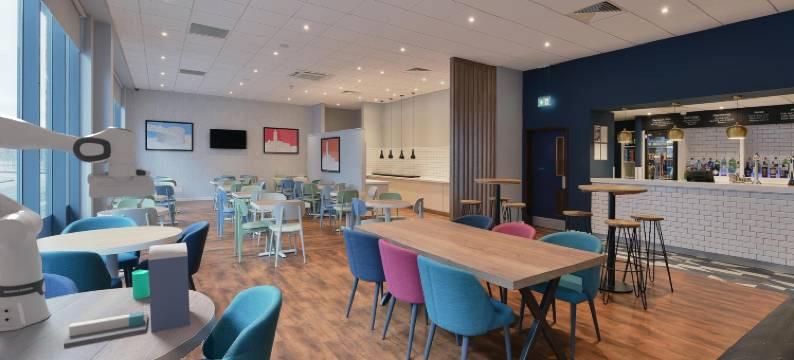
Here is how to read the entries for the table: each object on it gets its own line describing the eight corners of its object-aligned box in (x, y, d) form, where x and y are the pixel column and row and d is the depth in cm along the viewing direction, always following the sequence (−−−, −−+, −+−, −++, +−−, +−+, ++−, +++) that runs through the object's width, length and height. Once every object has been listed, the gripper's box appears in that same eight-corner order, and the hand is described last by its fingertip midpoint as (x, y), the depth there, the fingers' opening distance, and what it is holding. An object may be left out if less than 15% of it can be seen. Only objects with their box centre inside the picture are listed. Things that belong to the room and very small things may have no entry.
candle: (131, 296, 168) (129, 268, 167) (147, 292, 172) (146, 265, 172) (135, 300, 164) (133, 271, 163) (151, 296, 168) (150, 268, 167)
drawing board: (63, 347, 124) (63, 343, 124) (73, 330, 136) (73, 326, 136) (146, 332, 134) (145, 328, 134) (148, 317, 146) (147, 314, 146)
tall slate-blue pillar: (151, 332, 134) (148, 255, 132) (153, 315, 148) (150, 246, 146) (189, 325, 140) (187, 251, 138) (188, 309, 154) (185, 242, 152)
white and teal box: (69, 336, 128) (68, 327, 128) (71, 332, 132) (71, 323, 131) (143, 323, 138) (142, 315, 138) (143, 319, 141) (143, 311, 141)
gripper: (85, 172, 140) (87, 212, 141) (154, 171, 150) (155, 208, 151) (88, 172, 145) (90, 210, 146) (154, 170, 155) (156, 206, 156)
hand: (124, 209), depth 148 cm, fingers open, 8 cm apart
